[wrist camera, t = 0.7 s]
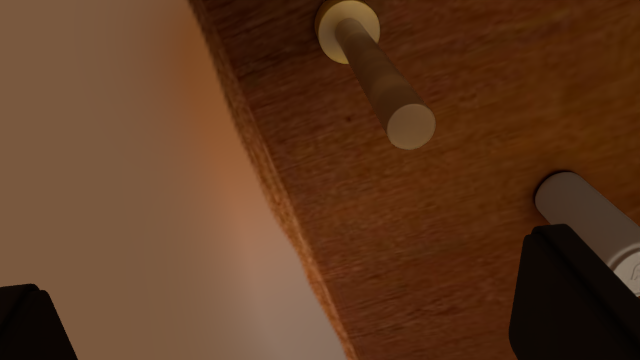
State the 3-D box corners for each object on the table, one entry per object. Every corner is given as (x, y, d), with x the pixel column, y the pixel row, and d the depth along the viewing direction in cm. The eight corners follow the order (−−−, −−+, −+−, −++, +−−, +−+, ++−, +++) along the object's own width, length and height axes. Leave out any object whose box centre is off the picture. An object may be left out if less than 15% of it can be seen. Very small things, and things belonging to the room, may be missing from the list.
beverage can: (529, 215, 48) (602, 302, 37) (535, 172, 45) (616, 252, 35) (577, 209, 48) (664, 294, 37) (586, 166, 45) (682, 243, 35)
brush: (316, -9, 36) (364, 70, 18) (375, -5, 36) (476, 77, 19) (312, 51, 38) (351, 174, 20) (368, 55, 38) (452, 177, 21)
